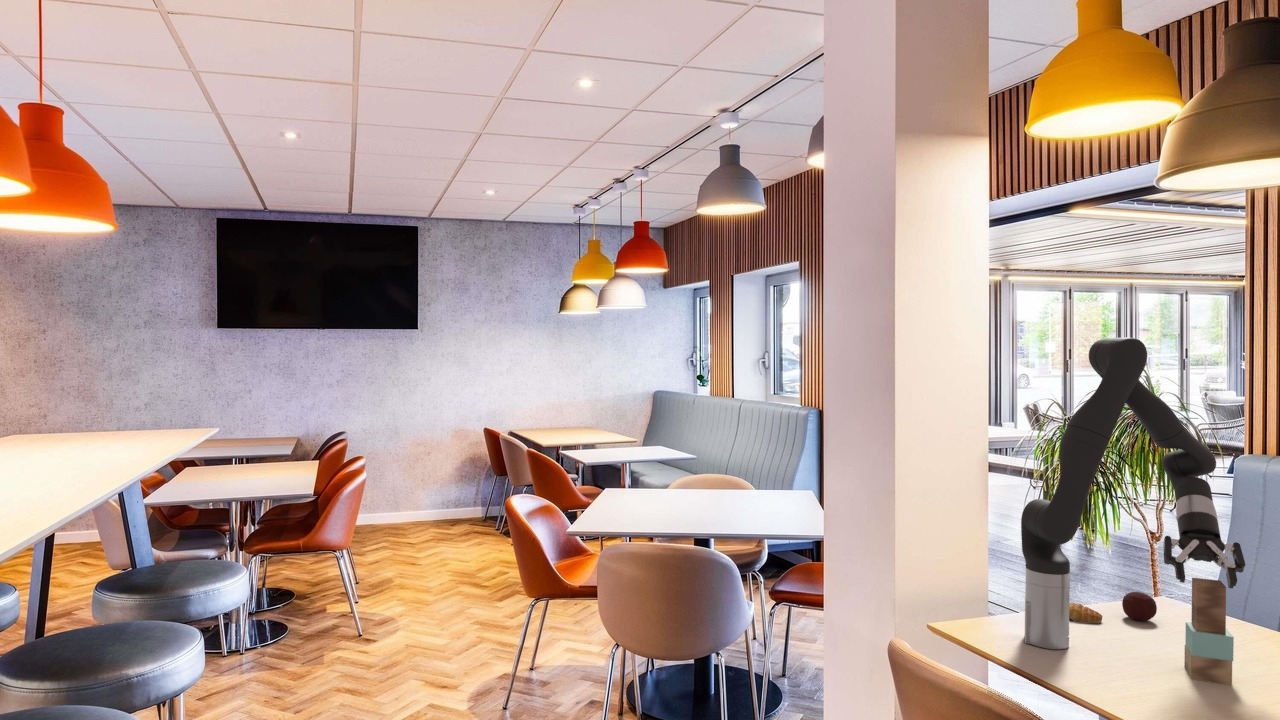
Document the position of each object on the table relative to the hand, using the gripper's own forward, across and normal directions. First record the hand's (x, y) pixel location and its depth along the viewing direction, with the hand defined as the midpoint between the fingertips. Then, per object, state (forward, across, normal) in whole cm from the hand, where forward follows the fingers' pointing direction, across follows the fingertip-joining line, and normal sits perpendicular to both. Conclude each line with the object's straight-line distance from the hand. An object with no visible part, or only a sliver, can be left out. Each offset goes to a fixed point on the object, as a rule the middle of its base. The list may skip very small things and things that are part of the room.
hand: (1207, 583), depth 167 cm
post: (+8, 0, +6) cm, 9 cm away
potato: (-11, -8, +38) cm, 40 cm away
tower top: (+11, 0, +9) cm, 14 cm away
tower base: (+15, 0, +13) cm, 19 cm away
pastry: (-6, -22, +34) cm, 41 cm away
